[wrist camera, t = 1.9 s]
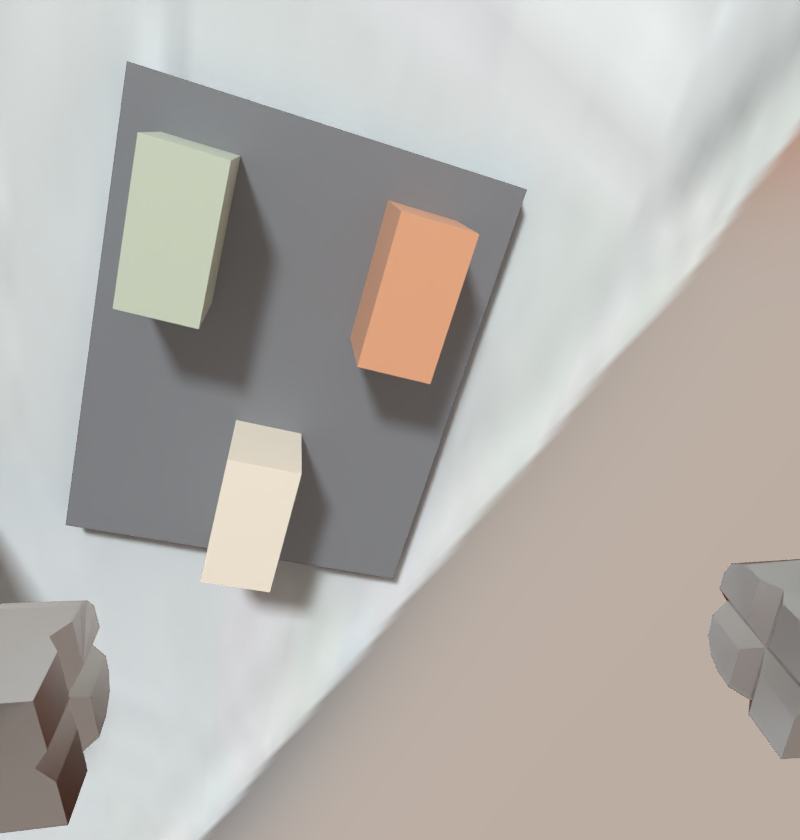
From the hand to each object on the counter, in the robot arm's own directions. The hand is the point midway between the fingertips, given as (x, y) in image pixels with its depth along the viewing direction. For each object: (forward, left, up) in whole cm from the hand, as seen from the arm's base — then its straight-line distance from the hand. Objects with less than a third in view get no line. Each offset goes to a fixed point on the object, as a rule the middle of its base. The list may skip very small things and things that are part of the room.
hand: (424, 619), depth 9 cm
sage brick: (+1, +6, -22) cm, 23 cm away
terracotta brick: (+1, -3, -22) cm, 22 cm away
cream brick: (-10, +1, -22) cm, 24 cm away
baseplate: (-4, +1, -23) cm, 23 cm away
